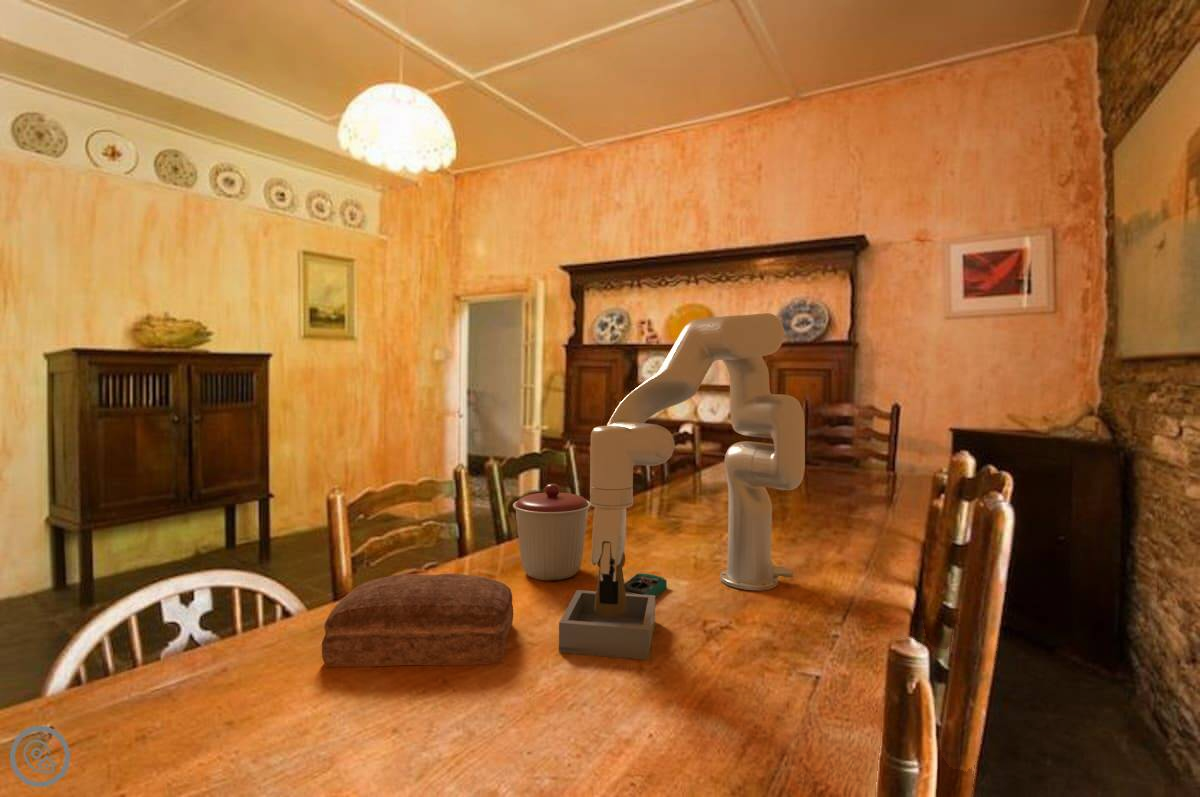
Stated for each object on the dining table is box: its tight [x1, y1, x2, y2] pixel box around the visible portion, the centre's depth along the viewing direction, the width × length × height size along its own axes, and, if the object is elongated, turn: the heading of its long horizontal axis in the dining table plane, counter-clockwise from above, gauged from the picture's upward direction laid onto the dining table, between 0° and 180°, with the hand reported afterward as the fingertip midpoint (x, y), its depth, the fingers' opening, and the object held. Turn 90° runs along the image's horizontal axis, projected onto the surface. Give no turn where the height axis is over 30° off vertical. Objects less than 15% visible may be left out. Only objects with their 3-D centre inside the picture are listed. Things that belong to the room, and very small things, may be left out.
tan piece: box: [594, 551, 627, 617], centre depth 103 cm, size 6×6×11 cm
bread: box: [321, 573, 514, 667], centre depth 99 cm, size 17×29×11 cm, turn 93°
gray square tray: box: [558, 589, 656, 661], centre depth 102 cm, size 15×15×5 cm
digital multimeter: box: [624, 572, 668, 598], centre depth 122 cm, size 7×15×3 cm, turn 152°
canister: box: [512, 483, 592, 581], centre depth 134 cm, size 18×18×21 cm
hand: (610, 598), depth 102 cm, fingers closed on tan piece, 2 cm apart
